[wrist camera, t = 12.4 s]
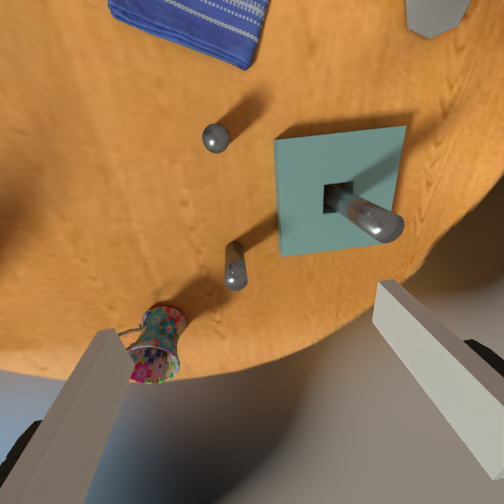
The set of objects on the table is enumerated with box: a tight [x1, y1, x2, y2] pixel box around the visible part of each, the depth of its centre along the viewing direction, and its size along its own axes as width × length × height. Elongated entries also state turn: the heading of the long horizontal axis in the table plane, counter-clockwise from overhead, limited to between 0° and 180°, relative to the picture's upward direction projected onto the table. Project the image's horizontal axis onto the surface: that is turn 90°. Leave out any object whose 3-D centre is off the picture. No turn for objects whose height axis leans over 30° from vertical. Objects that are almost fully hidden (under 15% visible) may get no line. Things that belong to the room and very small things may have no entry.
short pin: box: [202, 124, 229, 153], centre depth 31 cm, size 3×3×6 cm
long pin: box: [323, 184, 404, 243], centre depth 32 cm, size 3×3×16 cm
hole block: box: [274, 126, 406, 257], centre depth 37 cm, size 18×18×3 cm
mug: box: [118, 306, 186, 384], centre depth 42 cm, size 12×9×11 cm
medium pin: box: [225, 242, 247, 291], centre depth 37 cm, size 3×3×10 cm
